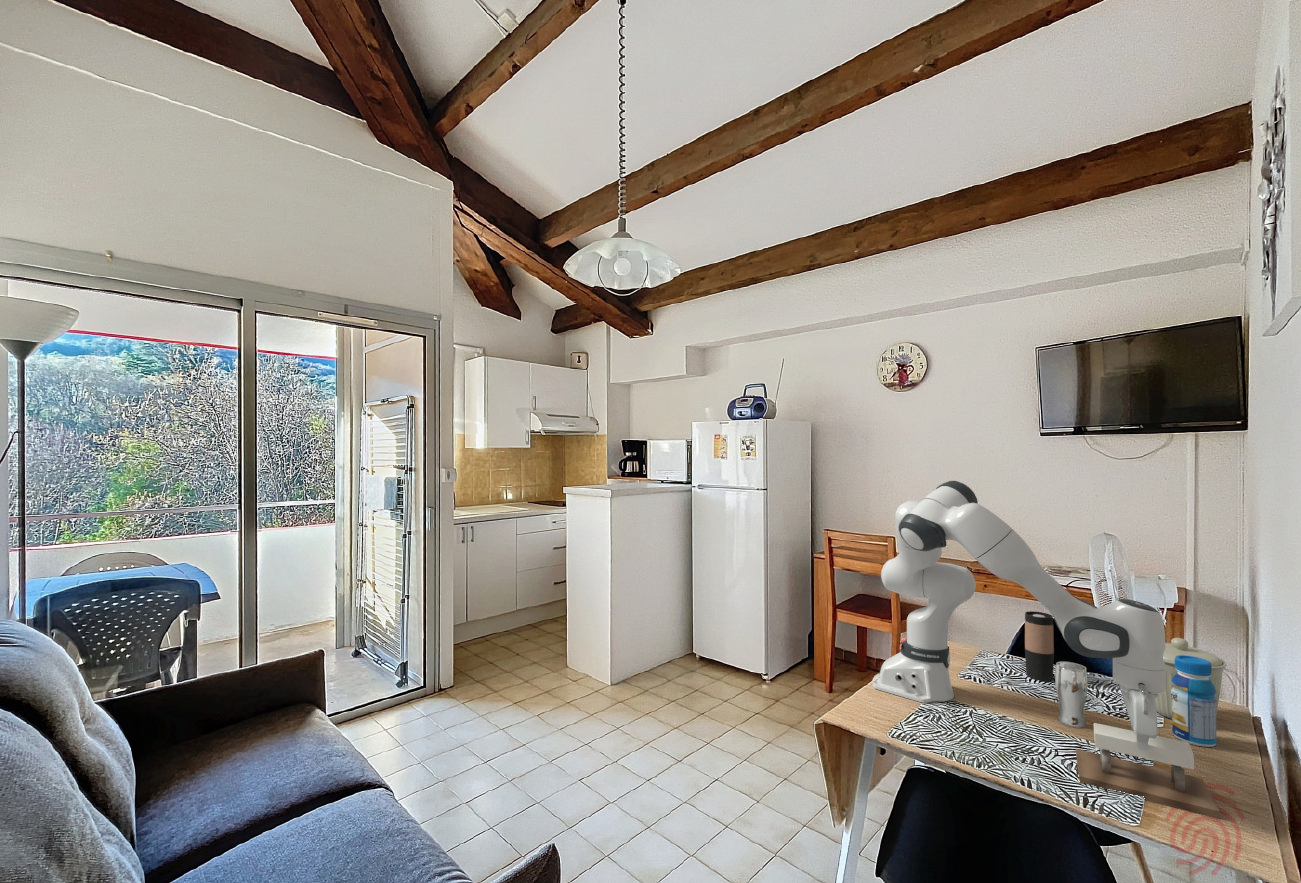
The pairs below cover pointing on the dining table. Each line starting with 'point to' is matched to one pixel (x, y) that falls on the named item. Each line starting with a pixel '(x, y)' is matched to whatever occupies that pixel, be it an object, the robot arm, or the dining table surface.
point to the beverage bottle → (1193, 702)
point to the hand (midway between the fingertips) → (1139, 741)
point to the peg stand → (1147, 782)
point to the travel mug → (1039, 645)
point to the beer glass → (1071, 693)
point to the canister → (1171, 651)
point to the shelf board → (1157, 750)
